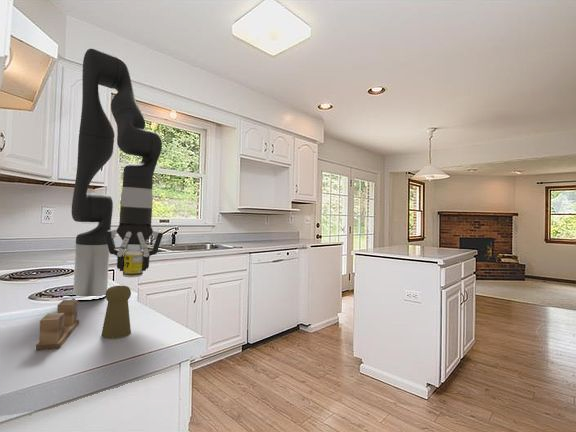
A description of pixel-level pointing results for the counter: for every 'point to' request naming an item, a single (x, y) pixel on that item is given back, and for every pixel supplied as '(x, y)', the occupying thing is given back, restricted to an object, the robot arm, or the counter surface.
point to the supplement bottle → (133, 261)
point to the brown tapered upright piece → (117, 313)
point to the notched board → (58, 325)
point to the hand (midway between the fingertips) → (132, 270)
